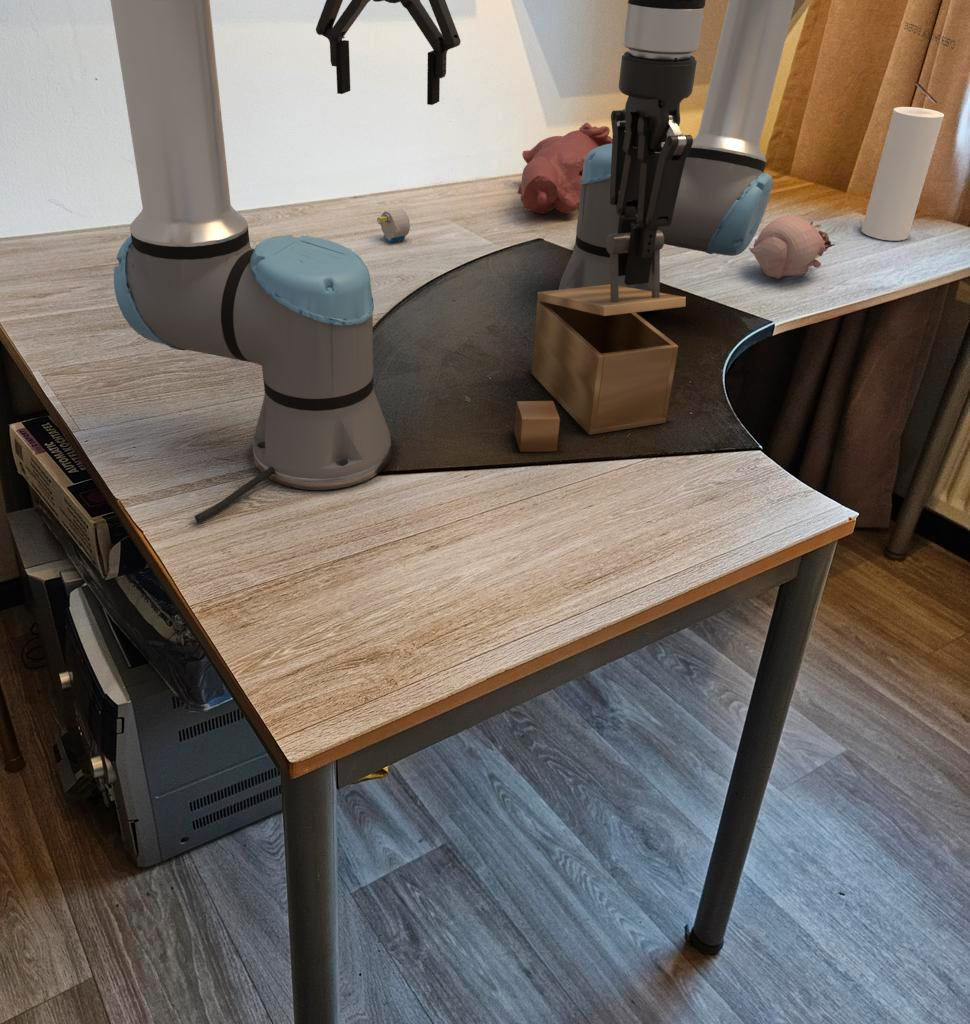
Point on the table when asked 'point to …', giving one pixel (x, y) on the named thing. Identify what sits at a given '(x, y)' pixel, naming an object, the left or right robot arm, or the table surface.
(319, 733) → the table surface
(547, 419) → the block
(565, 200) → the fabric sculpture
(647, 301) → the lid
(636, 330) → the chest
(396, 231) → the electric motor
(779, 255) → the toy
